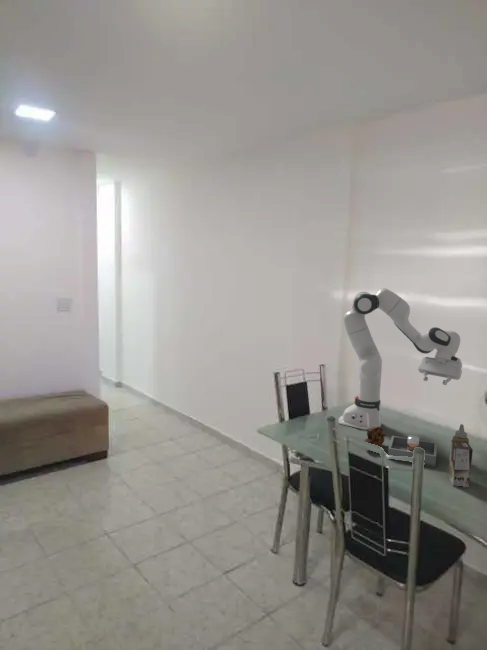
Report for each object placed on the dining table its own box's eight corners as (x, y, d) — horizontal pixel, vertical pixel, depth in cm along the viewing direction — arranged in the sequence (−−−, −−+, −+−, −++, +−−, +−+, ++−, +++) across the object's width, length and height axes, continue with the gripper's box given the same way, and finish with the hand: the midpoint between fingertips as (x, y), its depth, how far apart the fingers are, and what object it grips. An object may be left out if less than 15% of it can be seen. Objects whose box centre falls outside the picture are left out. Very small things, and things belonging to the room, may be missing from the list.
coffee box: (469, 488, 187) (473, 449, 184) (452, 486, 188) (455, 448, 186) (463, 477, 196) (467, 440, 193) (447, 475, 197) (450, 439, 194)
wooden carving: (371, 454, 217) (372, 434, 215) (362, 451, 220) (363, 431, 218) (387, 444, 229) (388, 424, 227) (378, 441, 232) (379, 422, 230)
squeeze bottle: (466, 460, 212) (469, 422, 209) (470, 468, 204) (474, 429, 201) (447, 458, 214) (450, 420, 211) (450, 466, 206) (453, 427, 203)
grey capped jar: (405, 454, 214) (407, 438, 213) (406, 450, 219) (407, 434, 218) (417, 456, 212) (419, 440, 211) (418, 452, 217) (419, 436, 216)
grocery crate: (387, 458, 212) (388, 448, 212) (391, 445, 227) (392, 435, 226) (435, 467, 205) (436, 456, 204) (436, 452, 219) (436, 442, 218)
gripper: (421, 352, 242) (412, 374, 236) (463, 359, 228) (454, 382, 222) (424, 359, 246) (415, 381, 240) (465, 366, 232) (456, 390, 226)
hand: (434, 382), depth 231 cm, fingers open, 8 cm apart
